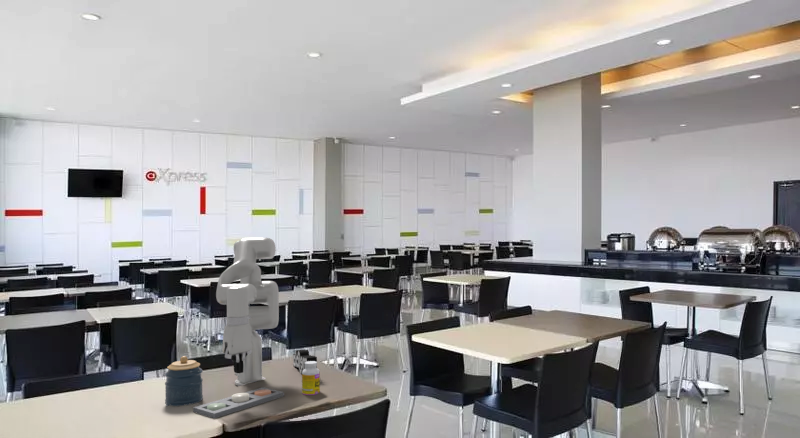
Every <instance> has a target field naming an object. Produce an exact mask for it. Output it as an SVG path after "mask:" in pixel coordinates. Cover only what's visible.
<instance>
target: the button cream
mask: <svg viewBox="0 0 800 438" xmlns="http://www.w3.org/2000/svg"><path fill="white" fill-rule="evenodd" d="M231 396H232V402H235V403H242V402H245V401H248V400H249V394H248V393H245V392H238V393H234V394H232V395H231Z"/></svg>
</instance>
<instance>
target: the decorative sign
mask: <svg viewBox="0 0 800 438" xmlns="http://www.w3.org/2000/svg"><path fill="white" fill-rule="evenodd" d="M294 352H295V353H292V359H293V360H292V361H293V362H292V363H293V365H292V366H293V367H294V368H298V370H299V371H298V372H299V374H300V375H302V371H303V370H304V369H305V362H308V361H316V362H317V363H318V357H317V356H316V355H311V354H310V351H309V349H296V350H295V351H294ZM316 368H318V365H317V366H316Z"/></svg>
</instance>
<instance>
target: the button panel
mask: <svg viewBox="0 0 800 438" xmlns="http://www.w3.org/2000/svg"><path fill="white" fill-rule="evenodd" d="M265 389H266V390H271V394H268V395H265V396H262V397H261V396H257V395H254V392H255V391H258V390H265ZM244 393H248V394H249V400H248V401H245V402H242V403H235V402H232V395H231V396H227V397H224V398H220V399H217V400H213V401H211V402H207V403H204V404H200V405H197V406H193V408H192V410H193V411H192V412H193V413H196V414H199V415H202V416H205V417H209V418H212V419H217V418H219V417H220V418H221V417H223V416H227V415H230V414H232V413H236V412H238V411H241V410H245V409H247V408H251V407H254V406H258V405H261V404H264V403H267V402H270V401H273V400H276V399H279V398H283V397H285V392H284V391H280V390H277V389H272V388H269V387H260V388H256V389H252V390H249V391H245V392H244ZM213 403H225V404H226V407H225V408H222V409H219V410H216V411H212V410H208V409H207V406H208V405H210V404H213Z"/></svg>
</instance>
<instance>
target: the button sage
mask: <svg viewBox="0 0 800 438" xmlns="http://www.w3.org/2000/svg"><path fill="white" fill-rule="evenodd" d="M225 407H226V404H225V403H213V404H210V405H208V406H207V409H208V410H212V411H216V410H219V409H222V408H225Z"/></svg>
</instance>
